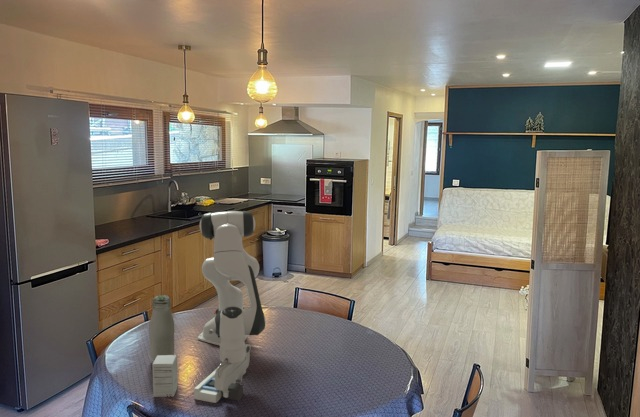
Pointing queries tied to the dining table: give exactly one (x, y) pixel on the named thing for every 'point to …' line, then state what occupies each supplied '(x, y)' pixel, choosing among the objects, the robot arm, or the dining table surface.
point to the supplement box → (165, 375)
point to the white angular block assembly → (208, 390)
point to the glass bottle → (161, 327)
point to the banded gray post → (231, 390)
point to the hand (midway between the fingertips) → (232, 390)
